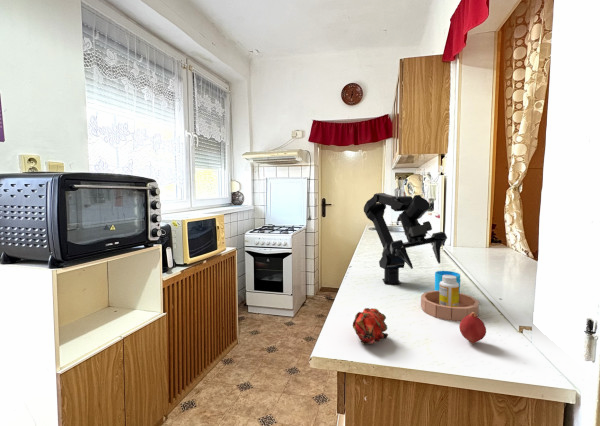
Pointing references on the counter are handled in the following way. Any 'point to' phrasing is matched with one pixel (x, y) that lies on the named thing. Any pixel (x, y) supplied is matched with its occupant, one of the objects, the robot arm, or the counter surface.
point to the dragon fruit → (370, 326)
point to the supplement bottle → (449, 291)
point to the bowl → (449, 313)
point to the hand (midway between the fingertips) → (425, 265)
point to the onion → (472, 328)
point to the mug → (439, 278)
